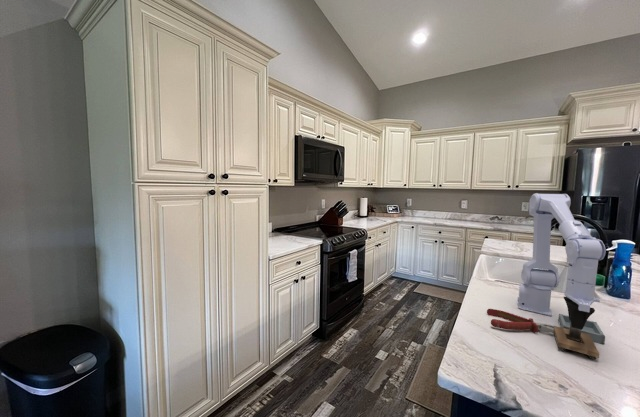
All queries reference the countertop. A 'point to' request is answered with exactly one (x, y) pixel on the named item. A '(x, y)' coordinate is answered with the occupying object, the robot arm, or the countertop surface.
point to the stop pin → (574, 332)
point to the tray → (585, 328)
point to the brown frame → (584, 347)
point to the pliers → (517, 322)
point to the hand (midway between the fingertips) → (575, 325)
